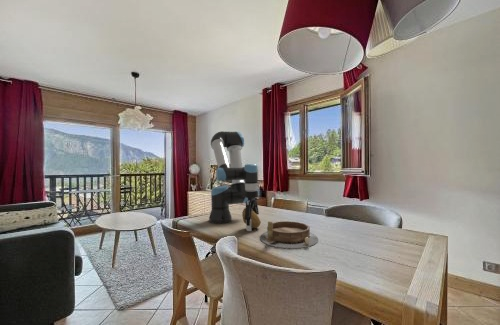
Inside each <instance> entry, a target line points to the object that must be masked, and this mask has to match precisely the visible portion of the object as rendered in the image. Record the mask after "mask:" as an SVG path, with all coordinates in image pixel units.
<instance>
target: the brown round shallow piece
mask: <svg viewBox="0 0 500 325" xmlns="http://www.w3.org/2000/svg"><path fill="white" fill-rule="evenodd" d="M266 228H267V229H266V230H267V231H266V232H268V237H267V238H266V242H269V243H271V242H274V241H281V242H301V241H305V237H308V238H309V237H310V233H311V232H310V231H311V230H310V226H309V225H308V224H306V223H304V222H299V221H289V220H287V221H284V220H283V221H276V222H273V221H272V220H270V221H267V227H266Z"/></svg>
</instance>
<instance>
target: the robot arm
mask: <svg viewBox="0 0 500 325" xmlns="http://www.w3.org/2000/svg"><path fill="white" fill-rule="evenodd" d="M244 137H245V136H244V135H243V133H242V132H240V131H224V130H223V131H218V132H216V133H215V134H213V136H212V137H211V140H210V147H211V149H212V150H213V154H214V157H215V161H216V165H217V168H216V170H215V176H216V180H217V181H231V183H230V186H229V185H228V184H225V185H219V186H214V187H212V188H211V191H210V192H211V193H210V197H211V200H210V201H211V211H210V214H209V217H208V222H209V223H211V224H226V223H229V222H232V219H233V218H232V214H231V211H230V205H238V204H240V205H241V204H243V205H244V204H245V207H244V208H245V218H244V219H245V220H246V224H245V225H246V226H245V227H246V232H252V228H251V213H252V210H253V211H254V212H255V213H256V214H257V215H259V214H260V212H259V211H260V210H259V205H258V197H259V191H258V190H259V189H258V188H259V184H258V179H259V178H258V165H257V164H256V163H254V164H253V163H252V164H247V163H246V164H244V166H243V161H242V159H243V158H242V152H241V151H242V150H243V147H245V138H244ZM226 151H227V152H228V153H229V159H228V155H227V153H226Z"/></svg>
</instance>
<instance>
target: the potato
mask: <svg viewBox="0 0 500 325" xmlns="http://www.w3.org/2000/svg"><path fill="white" fill-rule="evenodd" d="M245 208H246V207H244V208H243V210H242V214H241V215H242V220H243V221H242V222H243V223H244V224H245V225H246V220H245V219H244V218H245ZM260 226H261V219H260V218H259V215H258V214H256V213H255V212H254V211H253V210H252V213H251V229H258V228H259V227H260Z"/></svg>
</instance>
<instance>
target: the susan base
mask: <svg viewBox="0 0 500 325" xmlns="http://www.w3.org/2000/svg"><path fill="white" fill-rule="evenodd" d="M267 237H268V232H267V231H265V232H263V233H261V234H260V237H259V240H260V241H261V242H262V243H263V244H265V245H268V246H271V247H275V248H278V249H279V248H280V249H292V250H293V249H295V250H296V249H304V248H308V247H312V246H314V245H316V244H317V243H318V242H319V237H318V236H317V235H316V234H314V233H311V232H310V237H309V238H308V237H305V241H301V242H281V241H274V242H271V243H269V242H266V238H267Z"/></svg>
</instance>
